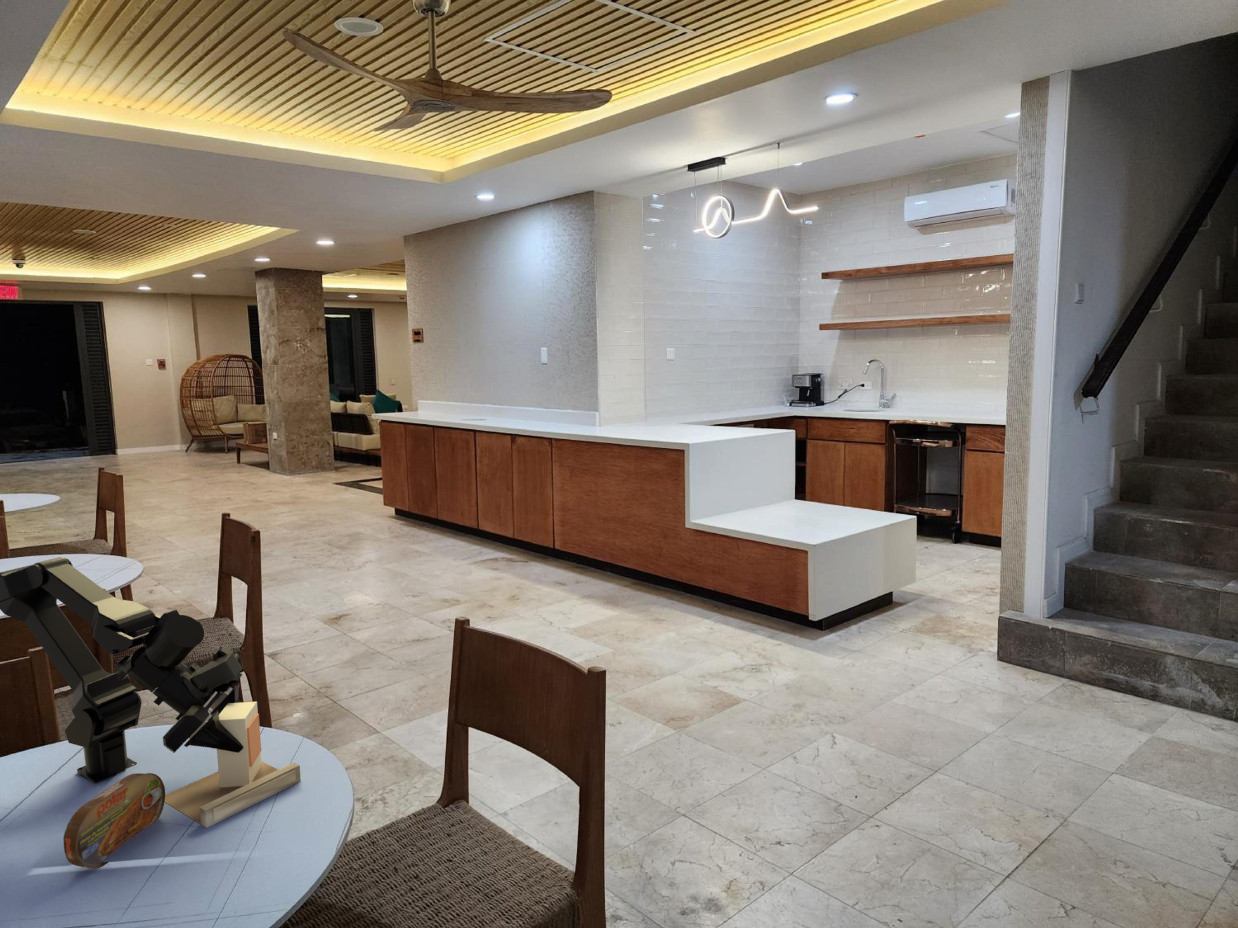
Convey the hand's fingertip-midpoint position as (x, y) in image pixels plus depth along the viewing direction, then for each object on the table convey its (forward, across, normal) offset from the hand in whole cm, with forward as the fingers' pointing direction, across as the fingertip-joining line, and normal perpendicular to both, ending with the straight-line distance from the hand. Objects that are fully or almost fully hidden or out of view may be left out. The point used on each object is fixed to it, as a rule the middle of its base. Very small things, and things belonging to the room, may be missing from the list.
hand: (247, 739), depth 126 cm
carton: (+3, 0, +5) cm, 6 cm away
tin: (-4, -15, +14) cm, 21 cm away
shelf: (+3, -3, +6) cm, 8 cm away
